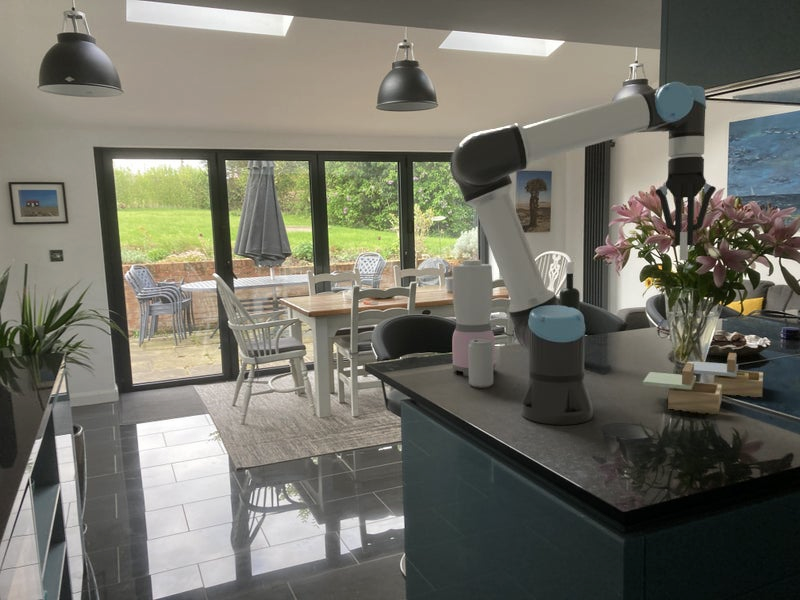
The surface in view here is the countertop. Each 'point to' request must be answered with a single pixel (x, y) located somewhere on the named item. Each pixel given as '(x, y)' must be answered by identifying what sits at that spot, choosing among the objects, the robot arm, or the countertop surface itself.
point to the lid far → (717, 367)
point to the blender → (471, 309)
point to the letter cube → (741, 375)
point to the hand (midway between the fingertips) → (683, 259)
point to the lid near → (672, 378)
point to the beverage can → (480, 363)
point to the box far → (742, 384)
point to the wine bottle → (570, 290)
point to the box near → (696, 398)
